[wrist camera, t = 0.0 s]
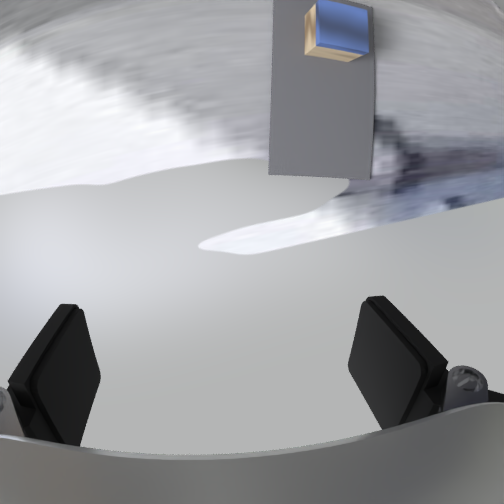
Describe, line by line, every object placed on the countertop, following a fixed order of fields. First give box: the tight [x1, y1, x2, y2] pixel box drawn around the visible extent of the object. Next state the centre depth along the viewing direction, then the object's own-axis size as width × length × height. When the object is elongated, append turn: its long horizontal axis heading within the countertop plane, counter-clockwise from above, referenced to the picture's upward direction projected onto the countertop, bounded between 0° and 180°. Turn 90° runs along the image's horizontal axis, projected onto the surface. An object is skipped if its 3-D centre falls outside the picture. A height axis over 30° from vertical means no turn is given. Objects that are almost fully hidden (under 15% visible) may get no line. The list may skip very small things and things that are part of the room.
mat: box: [268, 0, 374, 180], centre depth 36 cm, size 26×14×1 cm, turn 178°
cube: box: [305, 0, 369, 62], centre depth 30 cm, size 6×6×6 cm
